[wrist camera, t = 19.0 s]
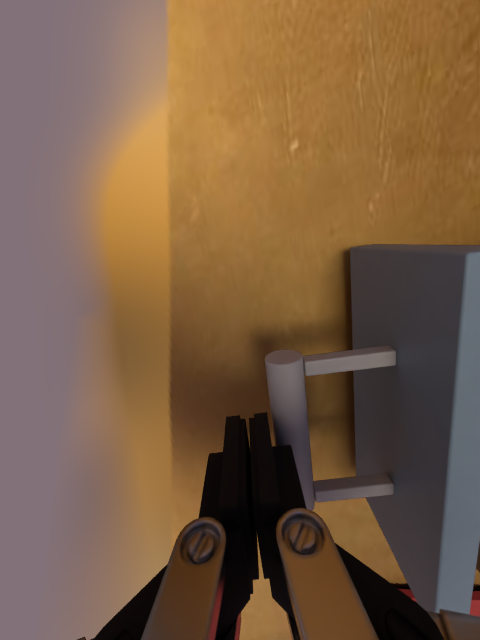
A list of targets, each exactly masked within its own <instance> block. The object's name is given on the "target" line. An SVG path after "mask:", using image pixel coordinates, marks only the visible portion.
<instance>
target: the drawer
mask: <svg viewBox="0 0 480 640" xmlns="http://www.w3.org/2000/svg"><path fill="white" fill-rule="evenodd" d="M350 263H351V300H352V337H353V350H348V351H340V352H332V353H324V354H316V355H308V356H302V354H301V353H300V352H298V351H295V350H277V351H274V352H271V353H269V354H268V355H267V356H266V357H265V367H266V375H267V383H268V391H269V399H270V407H271V415H272V423H273V431H274V439H275V446H284V445H291V447H292V451H293V455H294V459H295V463H296V467H297V471H298V475H299V479H300V483H301V487H302V491H303V495H304V500H305V504H306V508H307V509H309V510H311V511H312V510H313V509H314V505H315V501H316V502H326V501H335V500H345V499H355V498H364V497H366V499H367V501H368V503H369V505H370V507H371V509H372V511H373V513H374V515H375V518H376V520H377V522H378V524H379V526H380V528H381V530H382V532H383V534H384V536H385V538H386V540H387V542H388V544H389V546H390V548H391V550H392V552H393V554H394V556H395V558H396V560H397V562H398V564H399V567H400V569H401V571H402V573H403V575H404V577H405V579H406V581H407V583H408V585H409V587H410V589H411V591H412V593H413V595H414V597H415V599H416V601H417V603H418V604H419V605H420V606H421V607H422V608H423V609H425V610H426V611H430V612H435V613H439V610H440V609H444V610H449V611H454V612H459V613H464V614H470V607H471V600H472V593H473V586H474V578H475V571H476V568H477V570H478V571H479V572H480V245H404V244H372V245H365V246H358V247H352V248H350ZM345 371H353V374H354V411H355V448H356V477H346V478H337V479H327V480H318V481H313V475H312V463H311V451H310V438H309V426H308V414H307V402H306V390H305V377H304V373H305V375H306V376H313V375H321V374H329V373H337V372H345ZM314 498H315V500H314Z"/></svg>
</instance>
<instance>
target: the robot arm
mask: <svg viewBox="0 0 480 640" xmlns="http://www.w3.org/2000/svg"><path fill="white" fill-rule="evenodd" d="M249 430H250V447H249V440H248V434H247V427H246V420H245V419H240V415H238V416H229V417H226V425H225V436H224V447H223V452H218V453H210V454H209V457H208V462H207V469H206V475H205V481H204V488H203V494H202V500H201V507H200V513H199V518H198V519H196V520H193V521H192V522H190V523H189V524H188V525H186V526H185V527H184V529H183V530H182V531H181V532H180V534H179V536H178V538H177V540H176V543H175V545H174V548H173V551H172V554H171V557H170V559H169V562H168V564H167V565H166V566H165V567H164V568H163V569H162V570H161V571H160V572H159V573H158V574H157V575H156V576H155V577H154V578H153V579H152V580H151V581H150V582H149V583H148V584H147V585H146V586H145V587H144V588H143V589H142V590H141V591H140V592H139V593H138V594H137V595H136V596H135V597H134V598H133V599H132V600H131V601H130V602H129V603H128V604H127V605H126V606H124V607H123V609H121V610H120V612H118V613H117V614H116V615H115V616H114V617H113V618H112V619H111V620H110V621H109V622H108V623H107V624H106V625H105V626H104V627H103V629H102V630H101V631H100V632H99V633H98V634H97V636H96V637H95V638H93V639H91V640H239V635H240V626H241V611H242V610H243V608H244V607H245V605H246V604H247V603H248V601H249V600H250V594H253V580H256V579H259V567H258V548H257V536H258V542H259V549H260V555H261V562H262V568H263V574H264V579H268V578H269V579H270V586H271V593H272V597H273V599H274V600H275V601H276V602H277V603H278V604H279V605H280V606H281V607H282V608H283V609H284V610H285V611H286V613H287V620H288V624H289V628H290V632H291V637H292V640H480V617H479V616H474V615H469V614H464V613H459V612H454V611H449V610H444V609H440V610H439V613H435V612H430V611H426V610H425V609H423V608H422V607H421V606H420V605H419V604H418V603H417V602H416V601H414V600H413V599H411V598H410V597H409V596H407V595H406V594H405V593H403V592H402V591H400V590H399V589H398V588H396V587H395V586H394V585H392V584H391V583H389V582H388V581H387V580H385V579H384V578H383V577H381V576H380V575H378V574H377V573H376V572H374V571H373V570H371V569H370V568H369V567H367V566H366V565H365V564H363V563H362V562H360V561H359V560H358V559H356V558H355V557H354V556H352V555H351V554H349V553H348V552H347V551H345V550H344V549H343V548H341V547H340V546H338V545H337V544H336V543H334V540H333V538H332V536H331V534H330V532H329V529H328V527H327V525H326V524H325V522H324V521H323V519H322V518H321V517H320V516H319V515H317V514H316V513H315V512H313V511H311V510H309V509H307V508H306V504H305V500H304V495H303V491H302V487H301V483H300V479H299V475H298V471H297V467H296V463H295V459H294V455H293V451H292V447H291V445H284V446H275V447H272V444H271V437H270V430H269V424H268V417H267V412H265V413H256V414H254V418H249ZM78 640H86V638H85V637H83V638H80V639H78Z"/></svg>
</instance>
